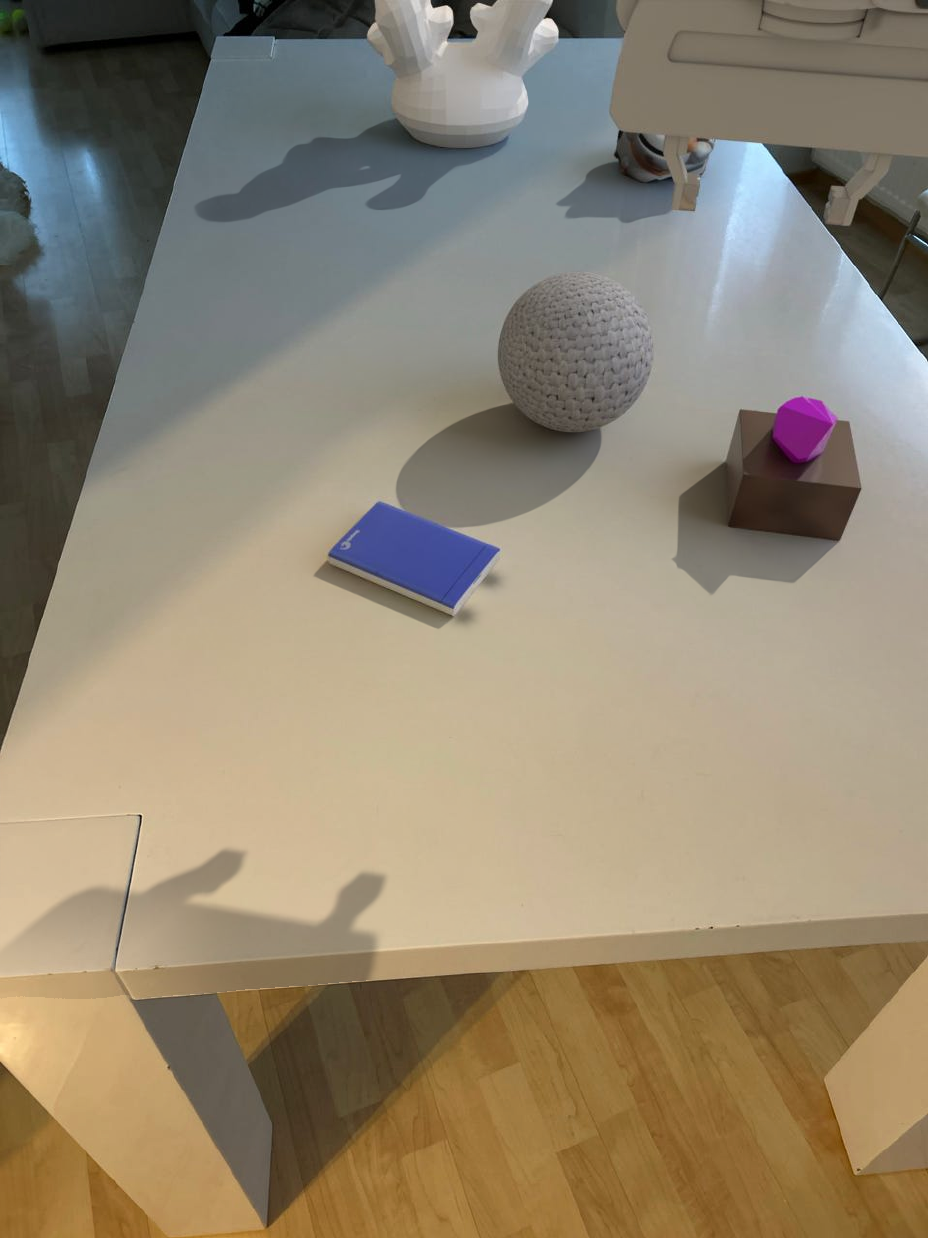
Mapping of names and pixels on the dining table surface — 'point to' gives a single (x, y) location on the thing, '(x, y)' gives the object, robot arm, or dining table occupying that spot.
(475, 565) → the hard drive
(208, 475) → the dining table surface
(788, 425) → the crystal
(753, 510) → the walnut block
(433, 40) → the vase
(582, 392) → the decorative ball
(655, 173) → the lucky cat figurine
